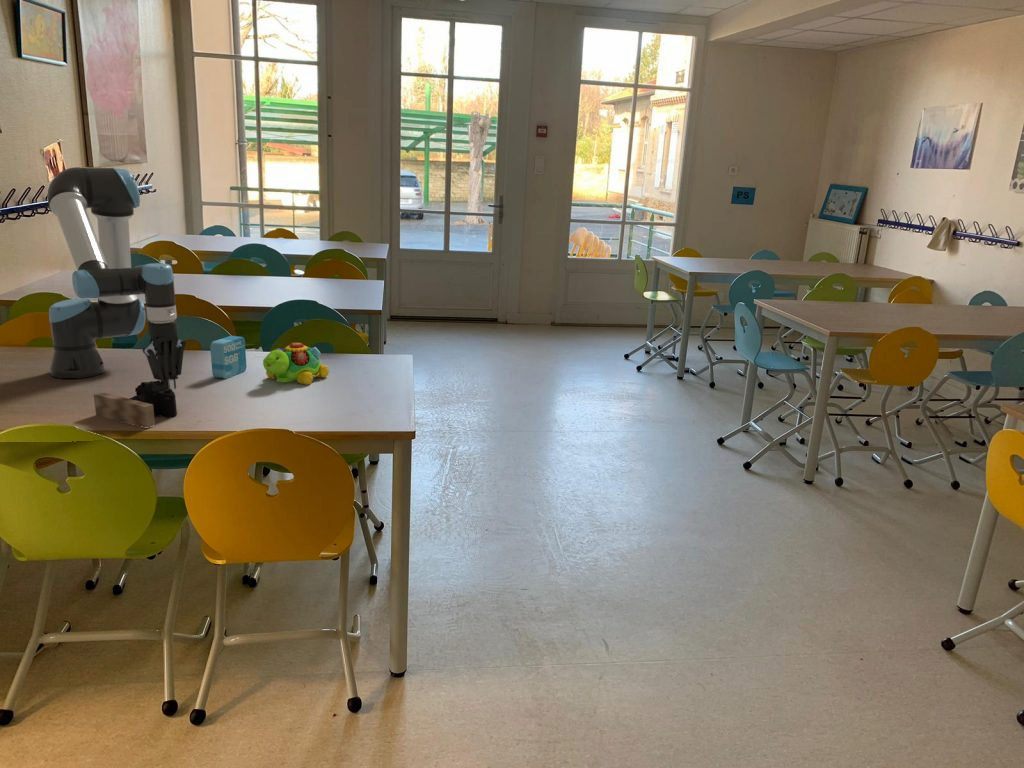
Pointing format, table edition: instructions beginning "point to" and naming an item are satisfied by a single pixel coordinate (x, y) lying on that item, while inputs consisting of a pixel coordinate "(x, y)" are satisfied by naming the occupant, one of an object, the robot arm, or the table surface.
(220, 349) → the data package
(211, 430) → the table surface
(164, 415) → the film camera
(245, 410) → the table surface
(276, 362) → the turtle toy
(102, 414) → the stone brick
